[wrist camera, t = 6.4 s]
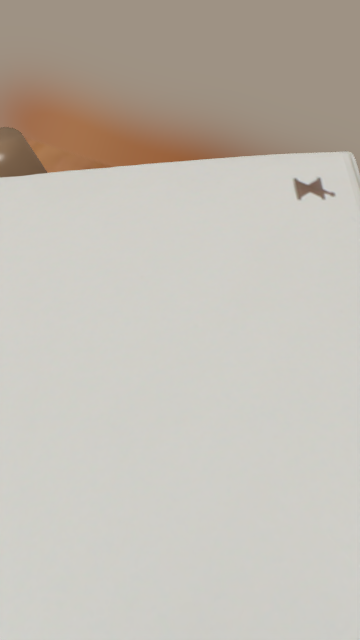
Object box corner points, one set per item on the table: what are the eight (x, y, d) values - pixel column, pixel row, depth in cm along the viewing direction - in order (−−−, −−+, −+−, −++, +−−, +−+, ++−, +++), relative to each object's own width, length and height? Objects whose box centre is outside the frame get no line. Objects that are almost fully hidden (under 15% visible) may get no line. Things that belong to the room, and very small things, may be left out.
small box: (142, 339, 17) (-17, 164, 4) (238, 336, 16) (365, 134, 4) (138, 478, 14) (-279, 1016, 2) (251, 478, 14) (720, 1166, 1)
